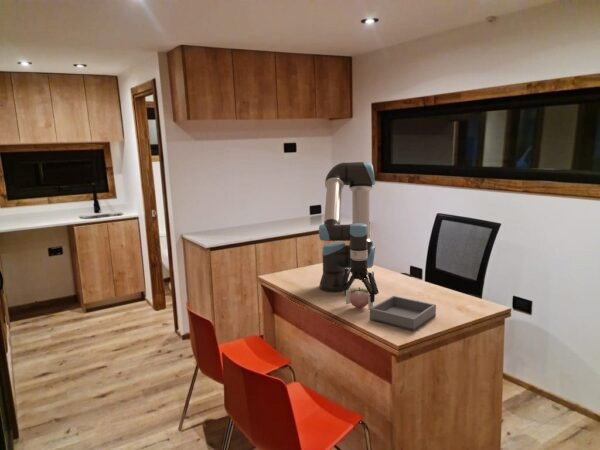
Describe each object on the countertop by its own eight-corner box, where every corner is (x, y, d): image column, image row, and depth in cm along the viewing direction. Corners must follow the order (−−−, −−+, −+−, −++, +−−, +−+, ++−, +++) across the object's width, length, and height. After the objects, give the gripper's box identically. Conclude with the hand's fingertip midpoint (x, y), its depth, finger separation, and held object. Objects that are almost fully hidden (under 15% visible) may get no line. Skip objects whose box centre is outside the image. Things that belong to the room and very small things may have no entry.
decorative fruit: (367, 304, 208) (367, 283, 206) (372, 310, 200) (372, 289, 198) (347, 306, 207) (346, 285, 205) (351, 312, 199) (351, 290, 197)
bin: (369, 320, 190) (369, 308, 189) (393, 306, 205) (393, 295, 204) (413, 331, 177) (413, 319, 176) (435, 316, 192) (435, 304, 191)
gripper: (332, 256, 204) (333, 303, 208) (377, 264, 189) (377, 314, 193) (341, 253, 210) (342, 298, 214) (386, 260, 195) (386, 309, 199)
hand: (359, 306), depth 203 cm, fingers open, 11 cm apart
